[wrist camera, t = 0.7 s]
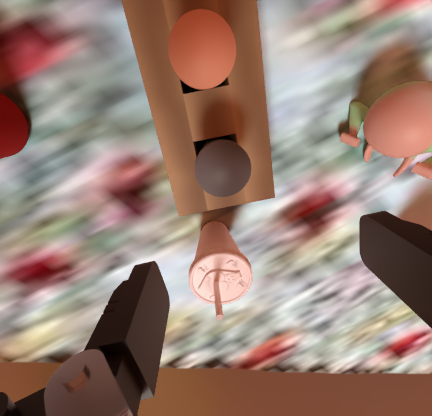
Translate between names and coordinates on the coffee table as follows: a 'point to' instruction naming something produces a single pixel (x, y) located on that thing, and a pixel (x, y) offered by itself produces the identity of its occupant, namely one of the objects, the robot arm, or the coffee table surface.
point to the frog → (396, 125)
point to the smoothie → (219, 268)
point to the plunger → (222, 168)
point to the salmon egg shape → (202, 49)
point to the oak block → (204, 99)
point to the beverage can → (11, 128)
